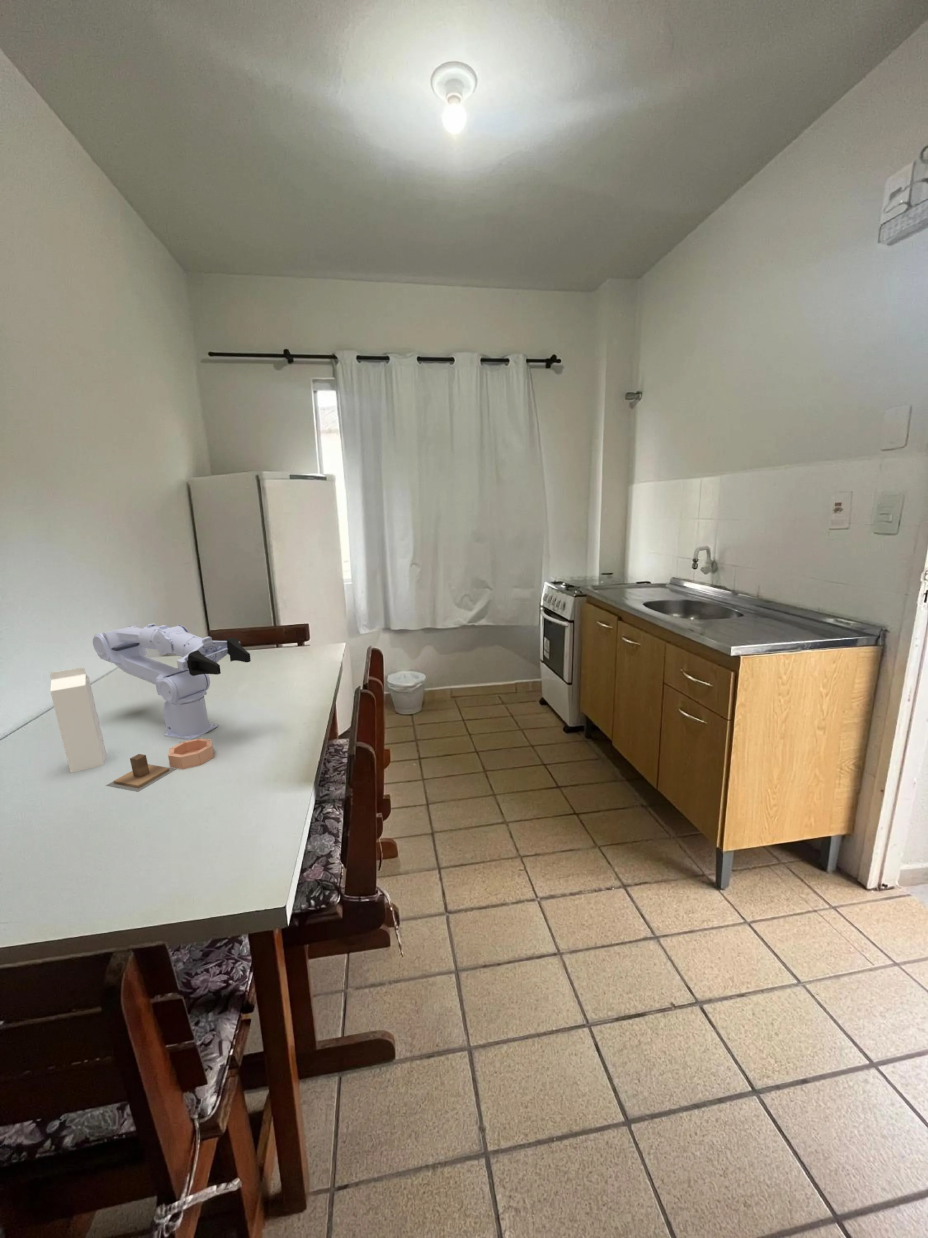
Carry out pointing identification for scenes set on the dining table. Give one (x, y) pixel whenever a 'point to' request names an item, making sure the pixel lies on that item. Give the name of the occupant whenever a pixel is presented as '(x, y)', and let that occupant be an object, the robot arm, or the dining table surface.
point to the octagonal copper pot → (191, 753)
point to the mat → (142, 786)
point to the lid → (140, 773)
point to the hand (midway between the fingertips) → (234, 663)
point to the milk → (77, 719)
